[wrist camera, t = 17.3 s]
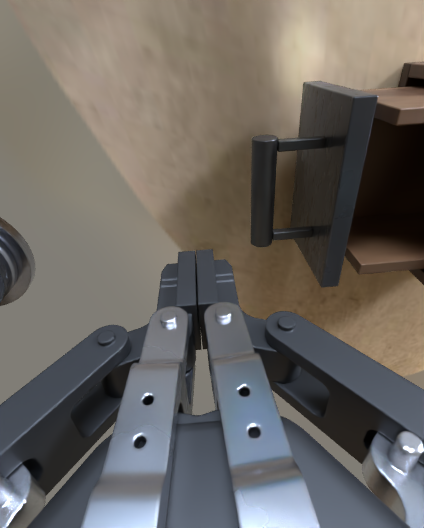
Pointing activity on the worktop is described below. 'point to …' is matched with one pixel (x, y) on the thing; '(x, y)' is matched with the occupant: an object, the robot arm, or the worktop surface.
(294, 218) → the drawer
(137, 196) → the worktop surface
